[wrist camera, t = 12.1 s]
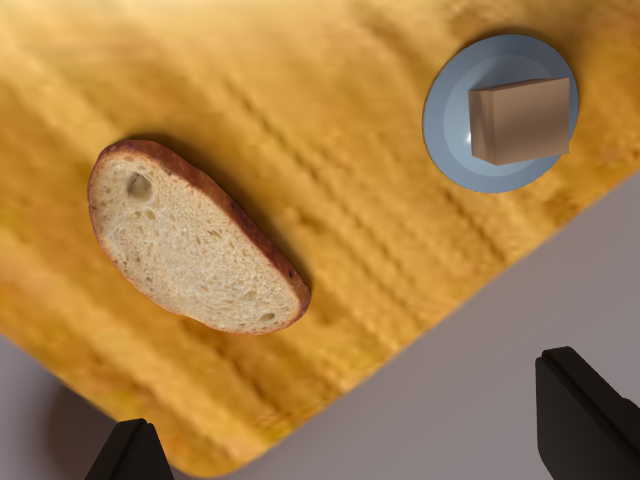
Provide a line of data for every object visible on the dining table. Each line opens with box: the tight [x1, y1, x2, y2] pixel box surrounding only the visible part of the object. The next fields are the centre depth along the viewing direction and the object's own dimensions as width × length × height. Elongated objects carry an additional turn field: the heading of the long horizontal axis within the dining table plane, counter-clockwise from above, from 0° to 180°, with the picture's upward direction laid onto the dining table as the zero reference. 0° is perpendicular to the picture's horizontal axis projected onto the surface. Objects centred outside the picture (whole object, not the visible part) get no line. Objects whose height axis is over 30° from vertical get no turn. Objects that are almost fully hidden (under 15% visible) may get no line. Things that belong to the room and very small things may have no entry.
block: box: [468, 78, 569, 166], centre depth 32 cm, size 5×5×5 cm
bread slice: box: [87, 140, 311, 335], centre depth 37 cm, size 18×18×4 cm
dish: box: [422, 34, 579, 193], centre depth 35 cm, size 12×12×1 cm
